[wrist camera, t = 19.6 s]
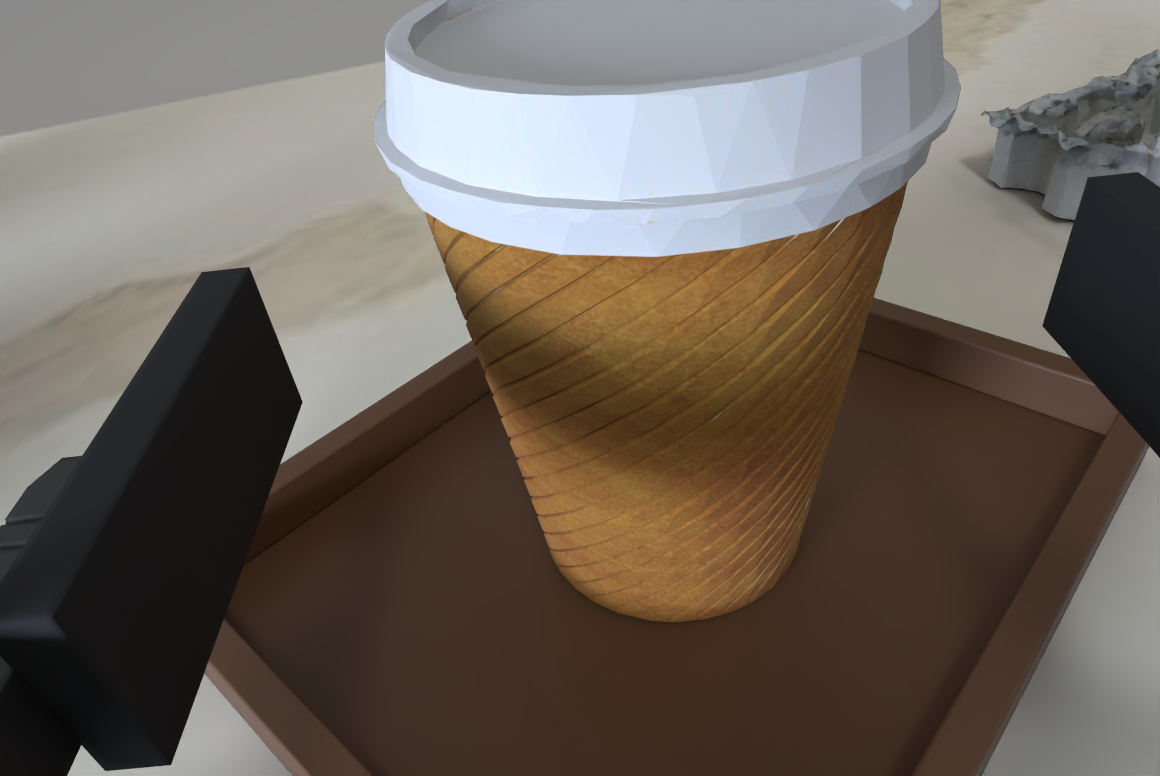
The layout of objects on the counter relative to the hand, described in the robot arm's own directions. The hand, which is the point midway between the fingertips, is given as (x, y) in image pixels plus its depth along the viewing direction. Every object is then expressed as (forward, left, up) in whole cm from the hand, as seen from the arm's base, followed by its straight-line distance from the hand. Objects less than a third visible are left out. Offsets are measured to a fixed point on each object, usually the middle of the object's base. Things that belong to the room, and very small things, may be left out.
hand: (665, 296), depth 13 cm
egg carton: (+2, +29, -9) cm, 30 cm away
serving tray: (-2, +2, -9) cm, 9 cm away
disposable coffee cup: (-2, +2, -8) cm, 9 cm away
